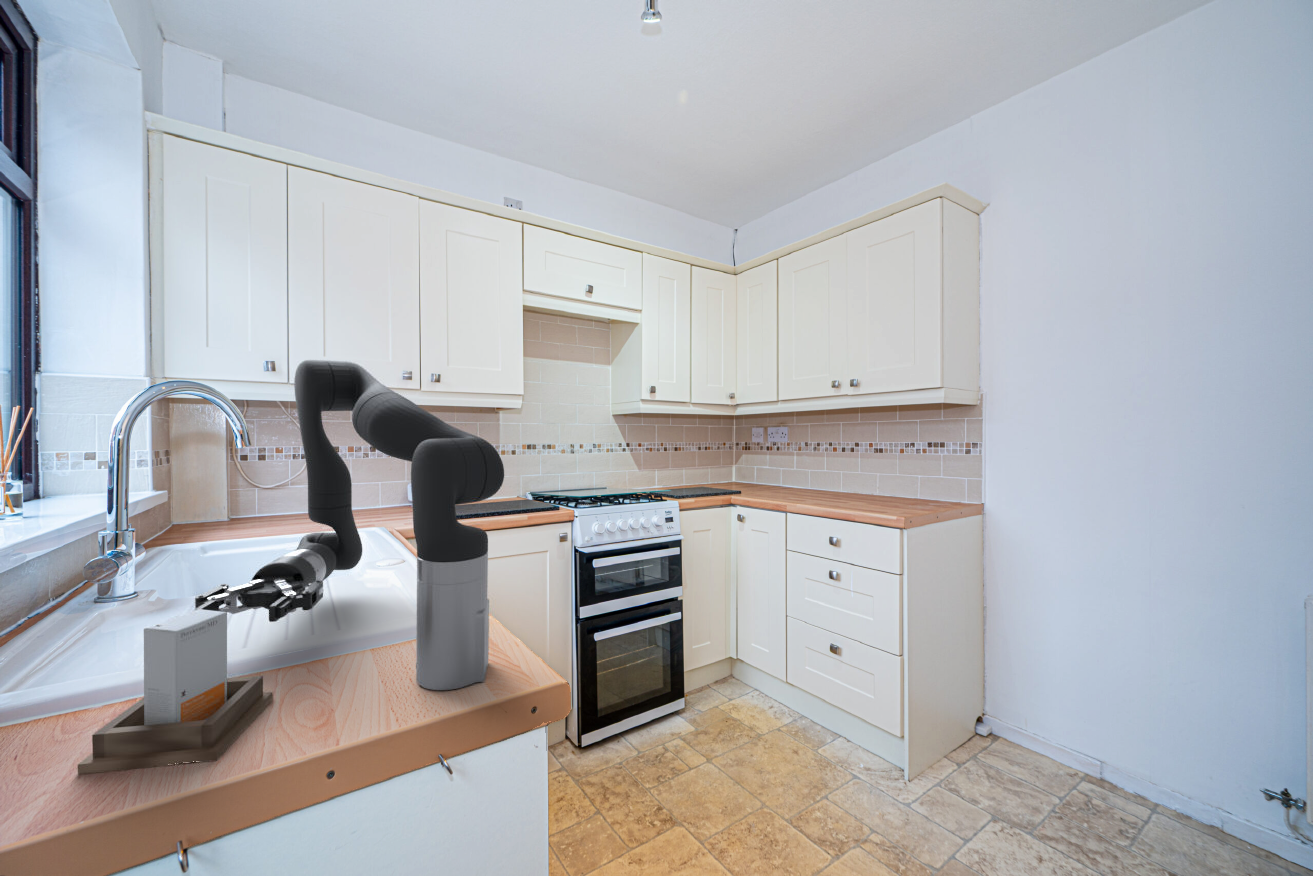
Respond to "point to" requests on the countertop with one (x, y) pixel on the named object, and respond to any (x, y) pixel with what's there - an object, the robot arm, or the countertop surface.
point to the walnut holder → (176, 733)
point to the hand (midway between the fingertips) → (235, 616)
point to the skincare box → (185, 667)
